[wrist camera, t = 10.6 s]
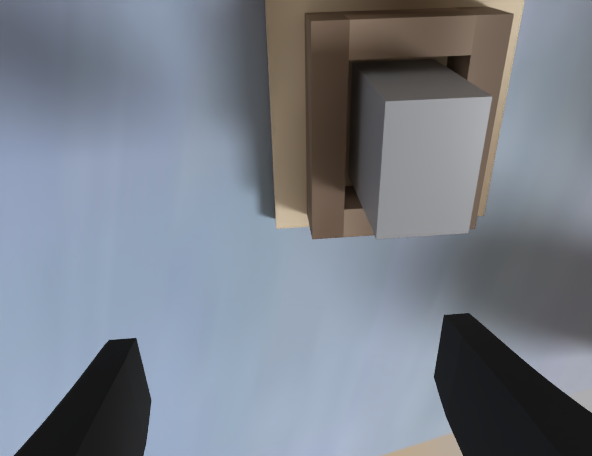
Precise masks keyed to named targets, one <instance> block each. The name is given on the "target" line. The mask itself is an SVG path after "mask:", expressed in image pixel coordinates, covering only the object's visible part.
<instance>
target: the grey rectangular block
mask: <svg viewBox="0 0 592 456" xmlns="http://www.w3.org/2000/svg"><path fill="white" fill-rule="evenodd" d="M491 102H492V96H491V95H489V94H488V93H486V92H485V91H483V90H482V89H480V88H478V87H477V86H475V85H474V84H472V83H471V82H469V81H468V80H466V79H465V78H463V77H461V76H460V75H458V74H457V73H455V72H454V71H452V70H451V69H449V68H447V67H446V66H444V65H443V64H441V63H440V62H438V61H437V60H435V59H419V60H395V61H370V62H352V85H351V115H350V145H349V174H348V175H349V177H350V179H351V182H352V184H353V186H354V189H355V191H356V193H357V196H358V198H359V200H360V203H361V205H362V207H363V210H364V212H365V214H366V217H367V219H368V221H369V224H370V226H371V228H372V230H373V233H374V235H375V237H376V239H385V238H400V237H416V236H432V235H447V234H463V233H469V227H470V221H471V216H472V210H473V204H474V199H475V193H476V187H477V181H478V176H479V170H480V164H481V159H482V153H483V147H484V142H485V136H486V130H487V124H488V119H489V113H490V107H491Z"/></svg>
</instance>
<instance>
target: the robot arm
mask: <svg viewBox="0 0 592 456" xmlns="http://www.w3.org/2000/svg"><path fill="white" fill-rule="evenodd" d="M434 379H435V382H436V386H437V389H438V392H439V396H440V399H441V402H442V405H443V409H444V412H445V415H446V418H447V420H448V422H449V425H450V427H451V429H452V431H453V434H454V436H455V438H456V440H457V443H458V445H459V447H460V450H461V452H462V454H463V456H592V413H591V412H590V411H588V410H587V409H585V408H584V407H583V406H581V405H580V404H579V403H577V402H576V401H574V400H573V399H572V398H571V397H569V396H568V395H567V394H565V393H564V392H563V391H561V390H560V389H559V388H557V387H556V386H555V385H553V384H552V383H551V382H550V381H548V380H547V379H546V378H545V377H543V376H542V375H541V374H540V373H538V372H537V371H536V370H535V369H534V368H532V367H531V366H530V365H529V364H527V363H526V362H525V361H524V360H523V359H522V358H520V357H519V356H518V355H517V354H516V353H514V352H513V351H512V350H511V349H510V348H509V347H507V346H506V345H505V344H504V343H503V342H502V341H501V340H499V339H498V338H497V337H496V336H495V335H494V334H493V333H491V332H490V331H489V330H488V329H487V328H486V327H485V326H483V325H482V324H481V323H480V322H479V321H478V320H477V319H475V318H474V317H473V316H472V315H471V314H469V313H465V314H452V315H444V318H443V324H442V330H441V337H440V343H439V349H438V355H437V361H436V367H435V374H434ZM150 407H151V397H150V393H149V389H148V385H147V381H146V376H145V372H144V368H143V364H142V360H141V356H140V352H139V347H138V343H137V339H136V338H131V339H117V340H109V341H108V342H107V343H106V344H105V345H104V347H103V348H102V349H101V350H100V352H99V353H98V354H97V356H96V357H95V358H94V360H93V361H92V362H91V364H90V365H89V366H88V368H87V369H86V370H85V372H84V373H83V374H82V375H81V377H80V378H79V379H78V381H77V382H76V383H75V384H74V386H73V387H72V388H71V390H70V391H69V392H68V393H67V394H66V396H65V397H64V398H63V399H62V401H61V402H60V403H59V404H58V405H57V407H56V408H55V409H54V410H53V412H52V413H51V414H50V415H49V416H48V418H47V419H46V420H45V421H44V422H43V424H42V425H41V426H40V427H39V428H38V429H37V430H36V431H35V433H34V434H33V435H32V436H31V437H30V438H29V439H28V440H27V441H26V443H25V444H24V445H23V446H22V447H21V448H20V449H19V450H18V452H17V453H16V454H15V455H14V456H143V455H144V450H145V446H146V440H147V433H148V425H149V416H150Z"/></svg>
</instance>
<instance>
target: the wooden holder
mask: <svg viewBox="0 0 592 456" xmlns="http://www.w3.org/2000/svg"><path fill="white" fill-rule="evenodd" d="M524 1H525V0H265V12H266V33H267V53H268V74H269V95H270V115H271V136H272V157H273V177H274V198H275V218H276V229H279V228H295V227H310V230H311V235H312V239H323V238H338V237H354V236H370V235H374V233H373V230H372V228H371V226H370V224H369V221H368V219H367V217H366V214H365V212H364V210H363V207H362V205H361V203H360V200H359V198H358V196H357V193H356V191H355V189H354V186H353V184H352V182H351V179H350V177H349V175H348V174H349V145H350V115H351V85H352V62H370V61H395V60H419V59H435V60H437V61H438V62H440V63H441V64H443V65H444V66H446V67H447V68H449V69H451V70H452V71H454V72H455V73H457V74H458V75H460V76H461V77H463V78H465V79H466V80H468V81H469V82H471V83H472V84H474V85H475V86H477V87H478V88H480V89H482V90H483V91H485V92H486V93H488V94H489V95H491V96H492V102H491V107H490V113H489V119H488V124H487V130H486V136H485V142H484V147H483V153H482V159H481V164H480V170H479V176H478V181H477V187H476V193H475V199H474V204H473V210H472V216H471V221H470V227H469V229H475V226H476V220H477V216H484V212H485V207H486V202H487V196H488V191H489V186H490V181H491V175H492V170H493V165H494V160H495V154H496V149H497V144H498V138H499V133H500V128H501V123H502V117H503V112H504V107H505V102H506V96H507V91H508V86H509V80H510V75H511V70H512V65H513V59H514V54H515V49H516V44H517V38H518V33H519V28H520V22H521V17H522V12H523V7H524Z"/></svg>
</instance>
